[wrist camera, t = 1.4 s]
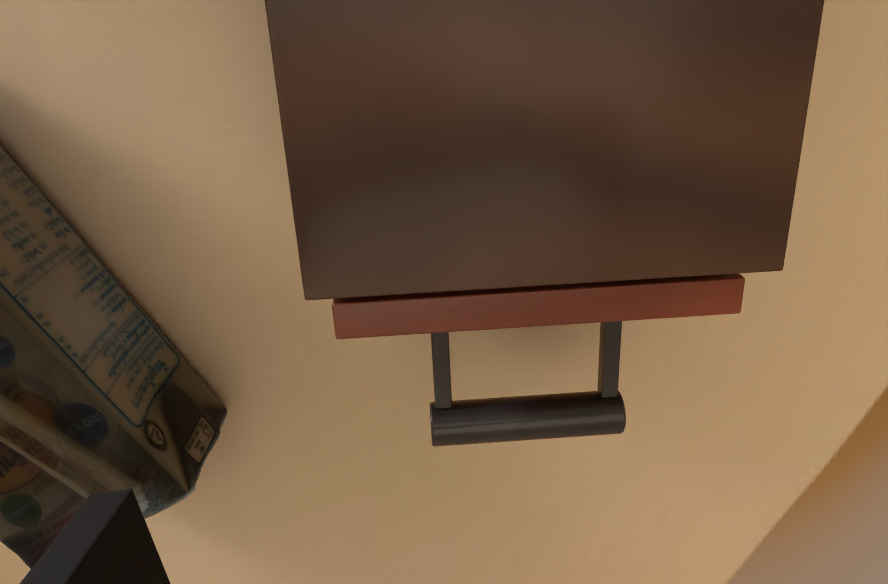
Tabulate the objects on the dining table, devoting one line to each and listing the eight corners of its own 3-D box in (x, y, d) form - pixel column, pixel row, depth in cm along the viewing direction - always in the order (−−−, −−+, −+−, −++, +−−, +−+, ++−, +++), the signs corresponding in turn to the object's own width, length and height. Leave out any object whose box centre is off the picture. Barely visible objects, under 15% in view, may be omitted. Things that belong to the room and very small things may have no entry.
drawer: (649, 366, 30) (720, 470, 23) (365, 385, 30) (354, 496, 23) (692, -186, 22) (818, -272, 15) (308, -171, 22) (265, -251, 15)
